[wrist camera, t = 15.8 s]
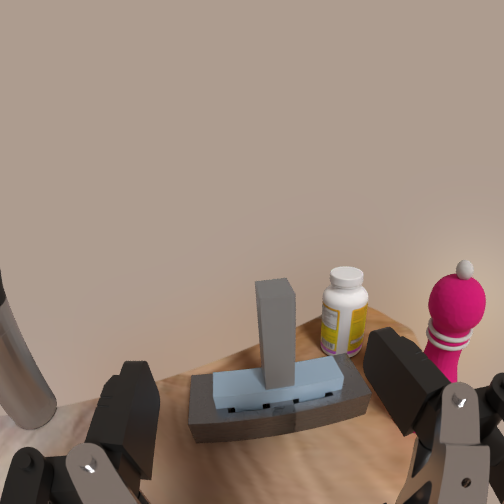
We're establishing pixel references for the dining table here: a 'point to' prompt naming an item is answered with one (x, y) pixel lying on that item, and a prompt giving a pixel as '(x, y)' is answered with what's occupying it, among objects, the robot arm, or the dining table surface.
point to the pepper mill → (453, 317)
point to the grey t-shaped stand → (276, 360)
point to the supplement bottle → (344, 312)
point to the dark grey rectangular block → (275, 410)
